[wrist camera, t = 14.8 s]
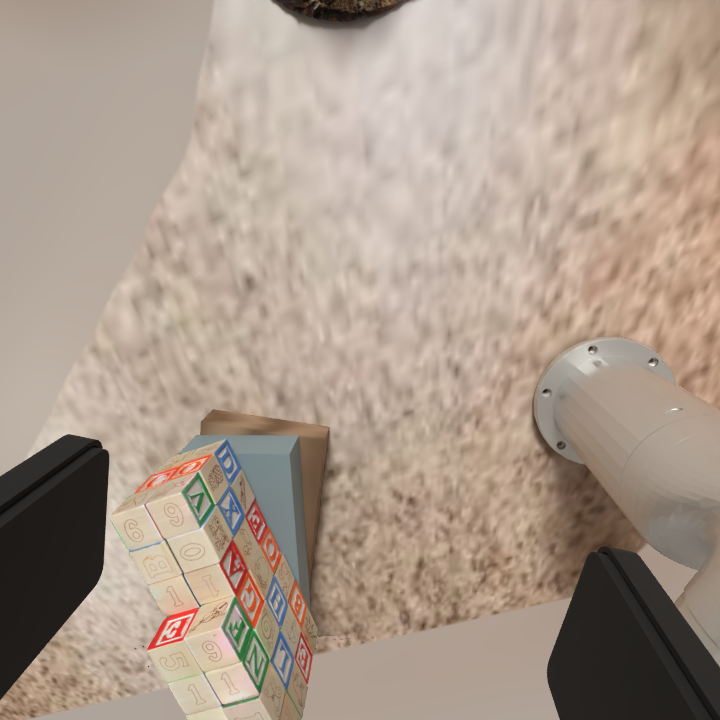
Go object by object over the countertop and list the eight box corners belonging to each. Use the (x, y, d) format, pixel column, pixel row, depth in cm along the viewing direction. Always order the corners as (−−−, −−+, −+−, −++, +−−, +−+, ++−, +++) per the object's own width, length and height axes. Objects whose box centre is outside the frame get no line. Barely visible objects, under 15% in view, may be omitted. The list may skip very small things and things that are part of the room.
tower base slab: (330, 423, 51) (324, 440, 47) (308, 600, 57) (302, 627, 53) (215, 406, 52) (200, 421, 48) (206, 584, 58) (192, 609, 54)
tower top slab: (298, 435, 47) (289, 454, 43) (310, 611, 52) (303, 641, 49) (196, 435, 48) (178, 453, 44) (218, 608, 53) (204, 638, 49)
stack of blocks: (165, 457, 44) (80, 541, 33) (228, 436, 43) (163, 514, 32) (262, 646, 49) (218, 780, 37) (320, 631, 48) (294, 763, 36)
